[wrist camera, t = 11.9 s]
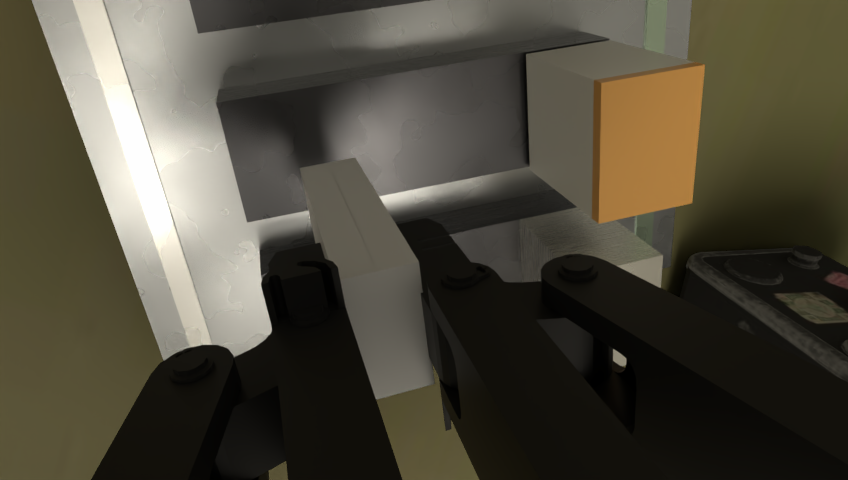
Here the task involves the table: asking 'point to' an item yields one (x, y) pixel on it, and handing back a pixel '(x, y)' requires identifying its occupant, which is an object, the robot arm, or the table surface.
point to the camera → (778, 299)
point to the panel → (265, 55)
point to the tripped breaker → (614, 127)
